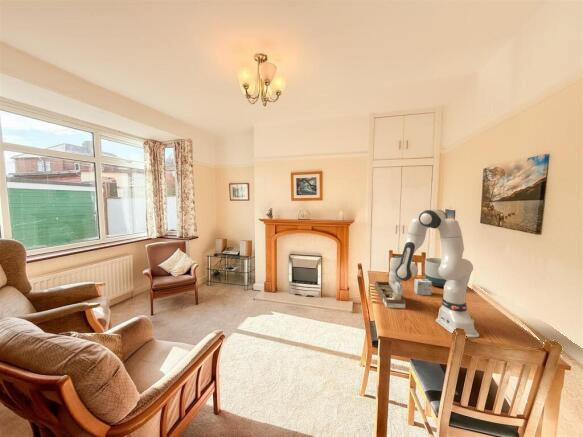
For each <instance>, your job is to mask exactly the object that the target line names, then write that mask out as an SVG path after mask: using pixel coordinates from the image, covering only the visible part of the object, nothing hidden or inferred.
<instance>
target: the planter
mask: <svg viewBox="0 0 583 437" xmlns="http://www.w3.org/2000/svg"><path fill="white" fill-rule="evenodd" d="M440 264H441V258H439V257H437V258H436V257H428V258H425V259H424V278H425V279H428V280H429V281H431V282H432V286H434V287H438V288H439V287H440V288H441V287H442V288H444V284H445V283H446V281H447V280H445V279H443V278H442V277H441V276H440V275H439V272H438V269H439V266H440Z"/></svg>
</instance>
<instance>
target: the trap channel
mask: <svg viewBox="0 0 583 437" xmlns="http://www.w3.org/2000/svg"><path fill="white" fill-rule="evenodd" d="M374 289H375V290H376V293H377V295H378V296H379V298H380V299H381V301H382V302H383V304H384V306H385V308H392V309H406V300H405V298H404V297H403V296H402V295H400V296H401V300H393V299H392V293H393V289H392V288H391V286H390V285H389V281H378V280H377V281H376V280H375V281H374Z"/></svg>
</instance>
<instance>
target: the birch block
mask: <svg viewBox="0 0 583 437" xmlns="http://www.w3.org/2000/svg"><path fill="white" fill-rule="evenodd" d="M401 296H402V295H401ZM401 296H400V295H397V294H396V293H392V299H393V300H401Z"/></svg>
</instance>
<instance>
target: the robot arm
mask: <svg viewBox="0 0 583 437" xmlns="http://www.w3.org/2000/svg"><path fill="white" fill-rule="evenodd" d="M429 228H431V229H437V230H438V232H439V233H438V234H439V240H440V246H441V257H440V259H441V264H440V266H439V269H438V272H439V275H440V276H441V277H442V278H443V279H445V280H447V281H446V283H445V284H444V286H443V292H442V298H441V304H442V305H441V306H440V307H439V311H438V316H437V318H436V319H435V322H436V323H438V324H439V325H440V326H442V327H443V328H444V329H445V330H447V331H448V332H449V333H450V334H452V333H453V331H454V329H456V328H461V329H464V330H465V332H466V336H467V337H466V338H470V339H471V338H473V339H474V338H479V337H480V334H479V332H478V331H477V329H475V319H474V318H471V315H470V313H469V311H468V307H467V305H468V304H467V302H466V298H467V297H466V296H467V289H468V285H469V282H470V278H471V275H472V273H473V270H474V264H473V263H472V262H471V261H470V260H468V259H466V258H463V256H464V255H463V254H464V251H465V246H464V240H463V238H464V237H463V233H462V230H461V227H460V223H459V221H458V220H456V219H455V218H448V215H447V213H446V211H444V210H441V209H426V210H423V211H422V212H420V214H419V216H417V217H414V218H412V219H411V220H410V223H409V224H408V228H407V232H406V237H405V238H406V239H405V242H404V247H403V251H402V255H394V256H391V257H390V260H389V273H388V274H387V276H388V282H389V285H390V286H391V288H392V289H393V293H396V294H397V295H401V296H402V295H403V284H402V282H403V281H404V282H407V281H409V280H411V278H412V277H414V276H415V275H417V274H418V272H419V268H418V266H417V265H416V264H415V263H414V262H413V257H414V255H415V254H416V252H417V251H418V250H419V249H420V248H421V247H422V246H423V244H424V242H425V240H426V235H427V231H428V229H429Z"/></svg>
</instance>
